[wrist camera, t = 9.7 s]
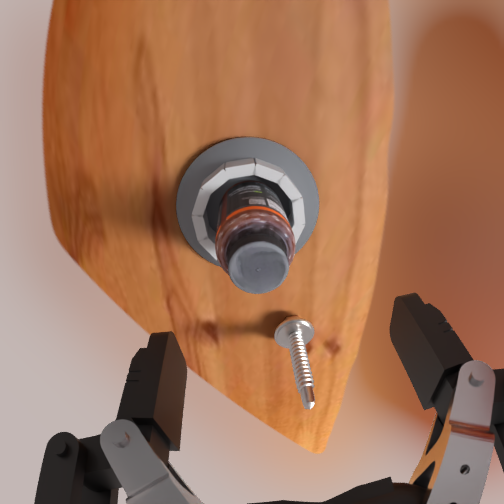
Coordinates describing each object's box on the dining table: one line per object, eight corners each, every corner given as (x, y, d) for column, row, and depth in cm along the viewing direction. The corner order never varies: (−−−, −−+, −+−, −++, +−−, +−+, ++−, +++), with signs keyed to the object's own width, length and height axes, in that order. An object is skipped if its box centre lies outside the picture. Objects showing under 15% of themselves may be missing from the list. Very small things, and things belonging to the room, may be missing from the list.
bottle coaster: (163, 152, 28) (154, 159, 25) (310, 127, 27) (319, 131, 24) (195, 276, 34) (192, 293, 32) (320, 256, 34) (328, 272, 31)
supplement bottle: (236, 245, 32) (237, 318, 22) (208, 195, 29) (193, 252, 19) (290, 220, 31) (315, 285, 21) (265, 167, 28) (281, 211, 18)
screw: (299, 302, 37) (317, 325, 39) (265, 320, 38) (284, 342, 40) (322, 388, 25) (341, 408, 28) (276, 408, 27) (299, 426, 29)
